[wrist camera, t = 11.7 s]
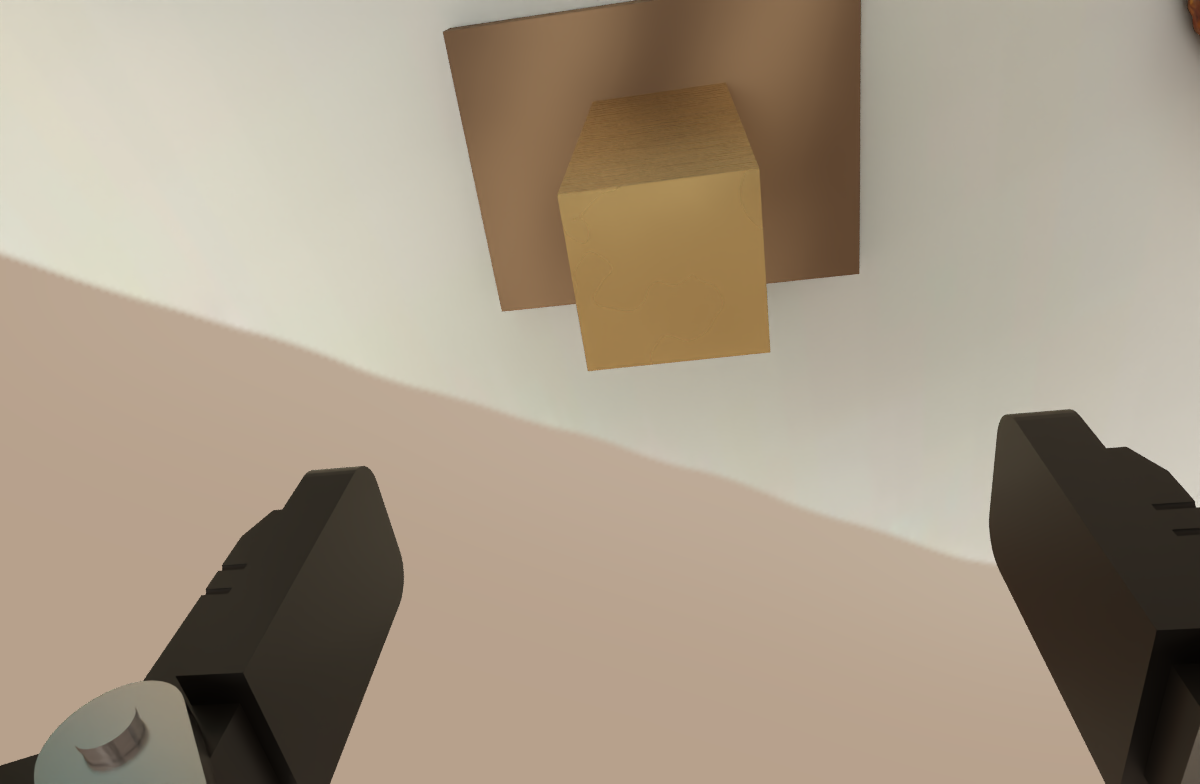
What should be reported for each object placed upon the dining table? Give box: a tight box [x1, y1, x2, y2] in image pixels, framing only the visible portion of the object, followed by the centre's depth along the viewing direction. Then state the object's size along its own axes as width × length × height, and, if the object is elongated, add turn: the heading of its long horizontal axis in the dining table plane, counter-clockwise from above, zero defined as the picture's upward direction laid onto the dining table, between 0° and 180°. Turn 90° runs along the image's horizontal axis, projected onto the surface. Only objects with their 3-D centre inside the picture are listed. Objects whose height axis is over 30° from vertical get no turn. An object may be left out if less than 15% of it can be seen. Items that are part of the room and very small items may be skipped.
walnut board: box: [443, 0, 861, 311], centre depth 27 cm, size 12×9×1 cm
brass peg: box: [557, 82, 770, 371], centre depth 22 cm, size 4×4×10 cm
